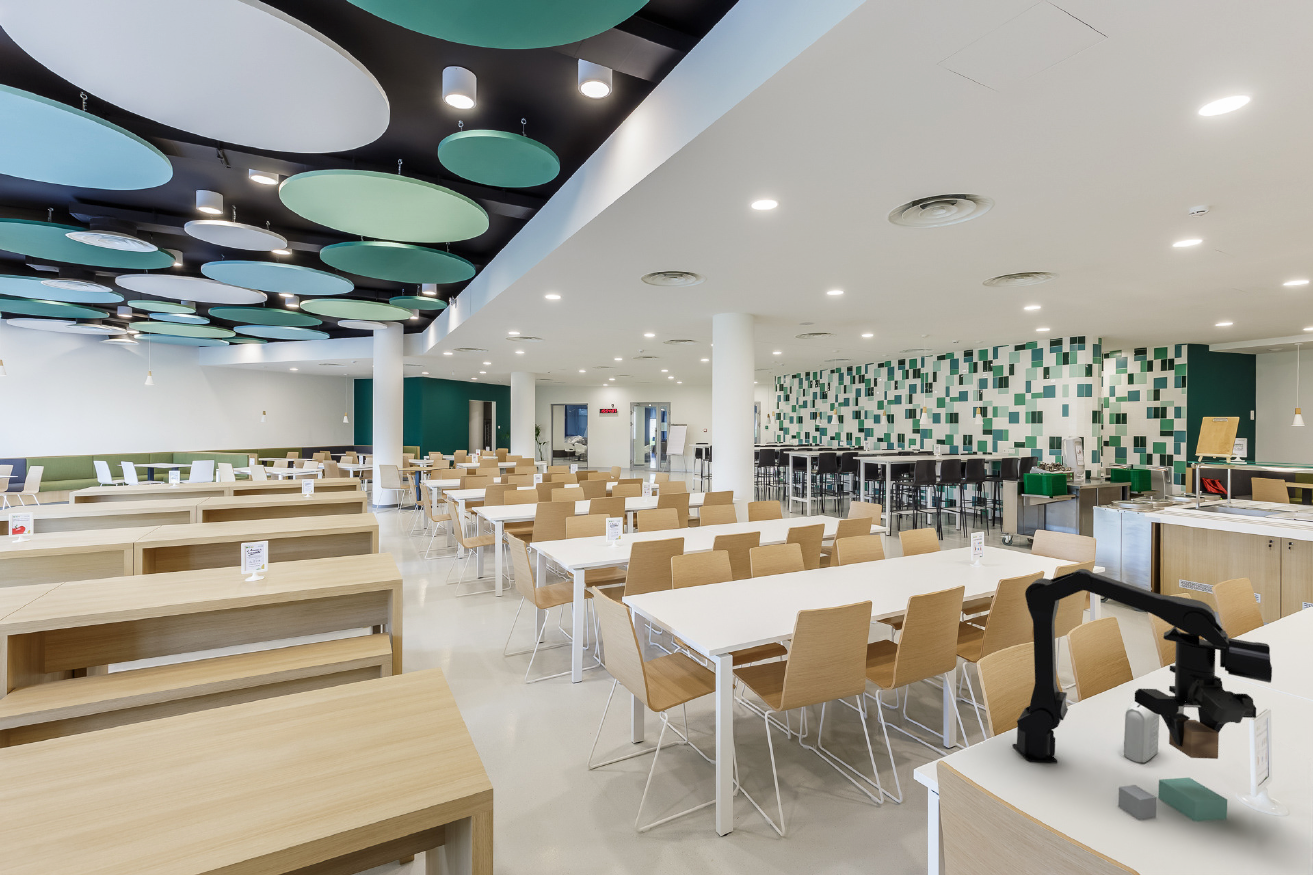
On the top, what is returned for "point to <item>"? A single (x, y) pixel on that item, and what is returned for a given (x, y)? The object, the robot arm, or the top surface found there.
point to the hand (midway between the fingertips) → (1192, 745)
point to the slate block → (1137, 802)
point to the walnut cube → (1198, 740)
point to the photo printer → (1140, 733)
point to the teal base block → (1193, 799)
